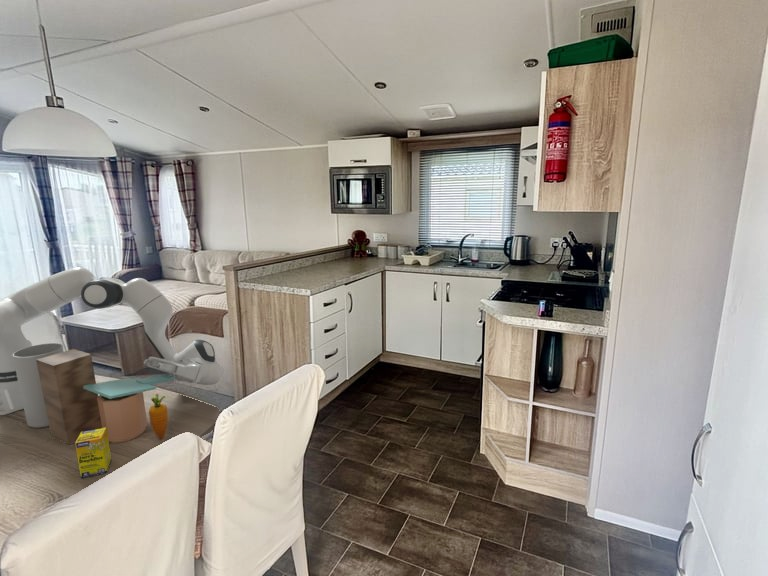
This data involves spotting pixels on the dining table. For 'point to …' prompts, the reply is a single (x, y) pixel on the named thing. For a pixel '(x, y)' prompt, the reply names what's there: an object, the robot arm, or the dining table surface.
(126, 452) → the dining table surface
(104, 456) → the supplement box
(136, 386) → the teal flat board
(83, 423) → the pedestal
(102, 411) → the peach faceted hollow pot
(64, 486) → the dining table surface
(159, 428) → the carrot
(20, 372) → the cylinder vase
